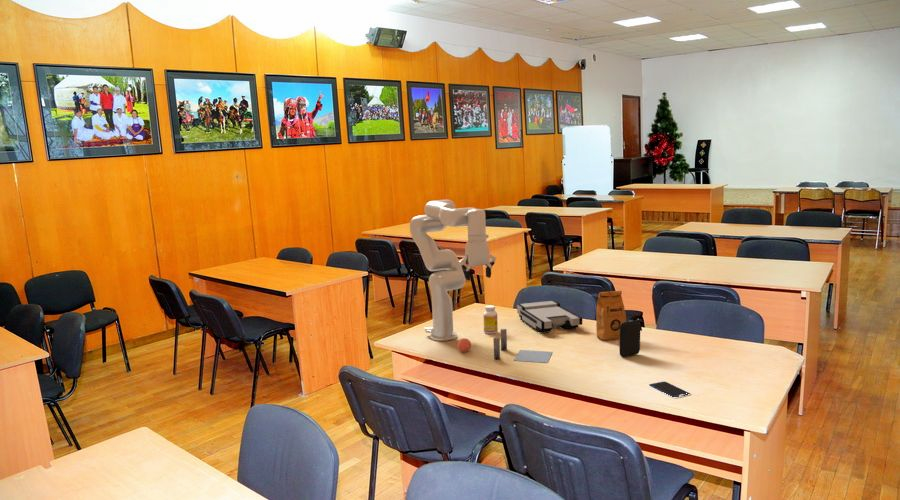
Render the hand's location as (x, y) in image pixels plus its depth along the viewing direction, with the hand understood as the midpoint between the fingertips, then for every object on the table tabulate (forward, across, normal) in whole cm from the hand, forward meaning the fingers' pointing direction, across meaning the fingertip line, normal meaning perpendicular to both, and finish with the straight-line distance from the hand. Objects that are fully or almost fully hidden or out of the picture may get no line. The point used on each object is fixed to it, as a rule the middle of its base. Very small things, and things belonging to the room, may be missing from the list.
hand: (478, 278), depth 258 cm
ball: (+30, +5, -4) cm, 31 cm away
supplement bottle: (+33, -18, -25) cm, 45 cm away
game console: (+33, -49, -21) cm, 63 cm away
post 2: (+33, -11, +1) cm, 34 cm away
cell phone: (+33, -38, +71) cm, 87 cm away
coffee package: (+33, -60, +12) cm, 70 cm away
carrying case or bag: (+33, -52, +35) cm, 71 cm away
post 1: (+33, -2, +11) cm, 34 cm away
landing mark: (+33, -17, +16) cm, 40 cm away
